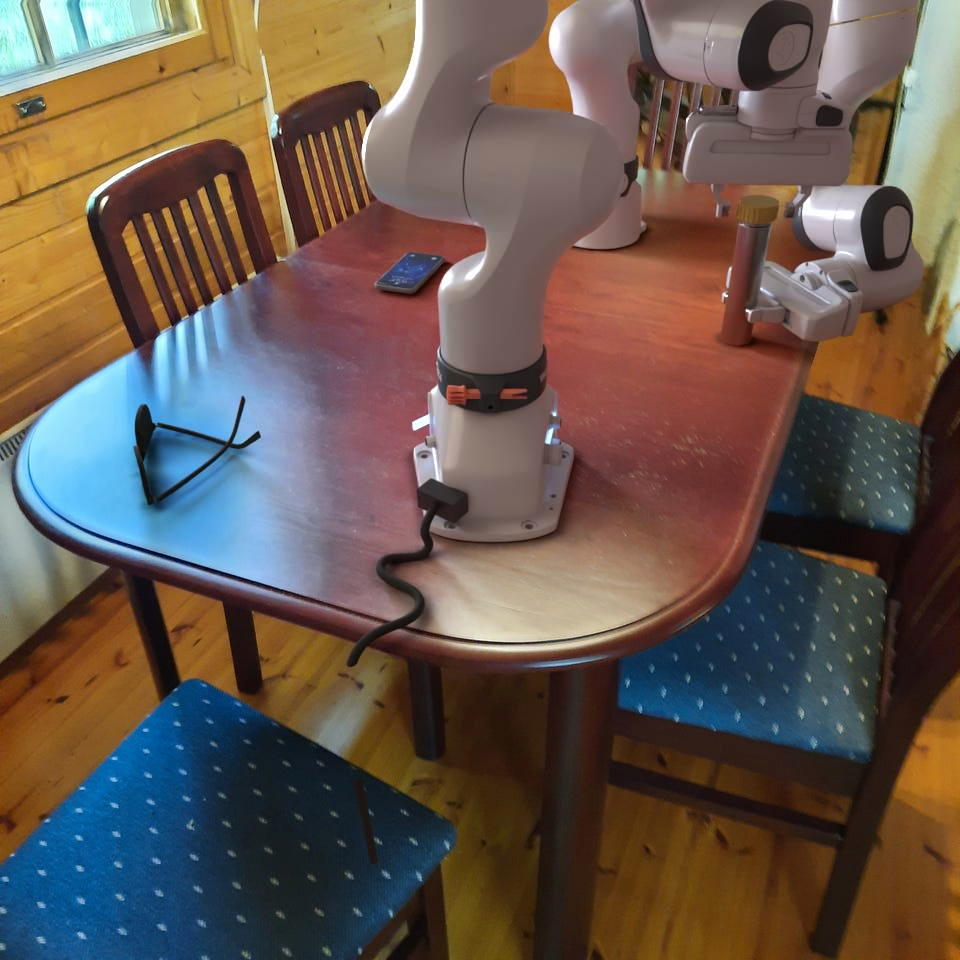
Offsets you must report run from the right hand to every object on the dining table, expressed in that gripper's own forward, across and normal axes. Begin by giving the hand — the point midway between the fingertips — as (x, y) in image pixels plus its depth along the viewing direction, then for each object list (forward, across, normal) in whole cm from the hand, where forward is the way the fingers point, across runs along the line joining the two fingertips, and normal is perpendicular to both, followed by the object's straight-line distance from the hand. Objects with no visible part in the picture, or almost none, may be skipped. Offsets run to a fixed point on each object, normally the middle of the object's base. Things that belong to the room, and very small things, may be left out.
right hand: (735, 307), depth 120 cm
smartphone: (+36, -40, +5) cm, 54 cm away
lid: (-1, 0, -14) cm, 15 cm away
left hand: (-1, 0, -13) cm, 13 cm away
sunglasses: (+74, +2, +5) cm, 74 cm away
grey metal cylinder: (-1, 0, +5) cm, 5 cm away
